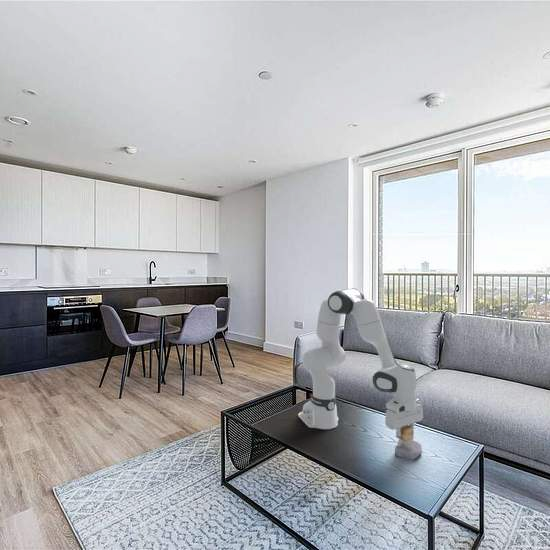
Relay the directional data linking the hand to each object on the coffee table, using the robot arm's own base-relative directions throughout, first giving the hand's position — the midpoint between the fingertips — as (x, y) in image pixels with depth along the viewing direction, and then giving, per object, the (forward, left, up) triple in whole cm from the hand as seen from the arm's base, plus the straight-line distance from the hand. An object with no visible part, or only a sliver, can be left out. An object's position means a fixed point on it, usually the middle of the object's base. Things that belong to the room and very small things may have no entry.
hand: (404, 434), depth 150 cm
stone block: (+2, +1, -8) cm, 8 cm away
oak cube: (0, 0, -2) cm, 2 cm away
